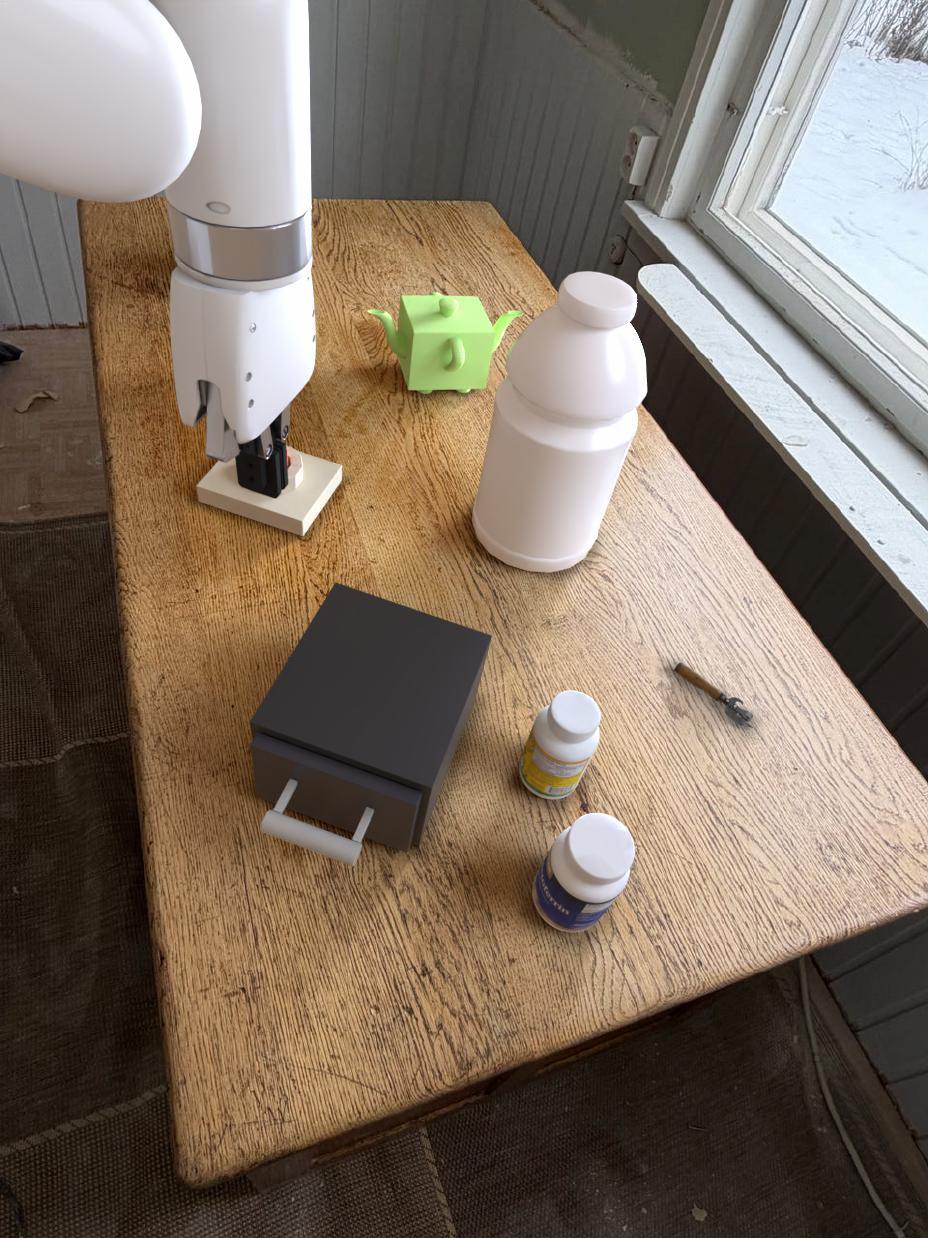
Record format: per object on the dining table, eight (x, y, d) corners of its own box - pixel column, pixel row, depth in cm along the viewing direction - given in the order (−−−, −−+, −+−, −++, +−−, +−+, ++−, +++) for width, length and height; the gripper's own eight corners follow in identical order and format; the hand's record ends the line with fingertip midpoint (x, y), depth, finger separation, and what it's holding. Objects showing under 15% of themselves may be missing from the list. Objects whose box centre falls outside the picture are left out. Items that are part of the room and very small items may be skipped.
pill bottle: (518, 875, 61) (546, 819, 53) (580, 851, 63) (616, 794, 55) (551, 947, 58) (586, 897, 50) (616, 919, 60) (659, 868, 52)
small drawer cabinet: (418, 847, 61) (432, 788, 54) (257, 787, 62) (249, 721, 55) (474, 702, 71) (492, 635, 63) (334, 653, 72) (335, 581, 65)
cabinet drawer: (386, 906, 57) (394, 862, 51) (229, 846, 58) (218, 796, 52) (461, 715, 68) (475, 661, 62) (329, 668, 70) (329, 611, 64)
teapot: (511, 375, 106) (526, 302, 98) (466, 423, 98) (479, 347, 90) (414, 335, 109) (421, 261, 101) (363, 378, 101) (366, 300, 93)
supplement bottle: (556, 813, 65) (585, 755, 57) (505, 774, 66) (527, 712, 59) (590, 771, 68) (622, 710, 60) (540, 734, 69) (566, 671, 62)
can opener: (671, 671, 76) (675, 664, 75) (684, 660, 77) (689, 653, 76) (746, 735, 72) (751, 728, 71) (759, 722, 74) (765, 715, 73)
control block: (198, 501, 82) (193, 472, 79) (244, 448, 89) (241, 419, 86) (303, 536, 81) (302, 508, 78) (342, 480, 87) (342, 452, 84)
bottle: (444, 528, 85) (485, 280, 63) (515, 472, 93) (573, 234, 71) (551, 596, 80) (632, 353, 59) (616, 530, 88) (708, 296, 67)
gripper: (249, 169, 48) (267, 416, 62) (97, 267, 38) (158, 534, 52) (361, 202, 47) (353, 445, 61) (233, 311, 38) (259, 570, 52)
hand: (263, 486), depth 57 cm, fingers closed
